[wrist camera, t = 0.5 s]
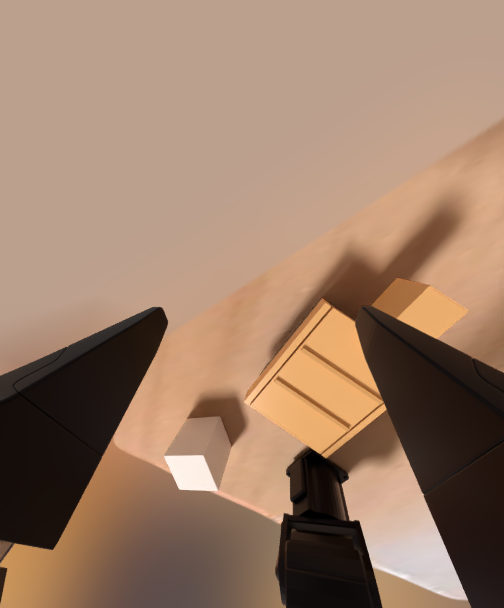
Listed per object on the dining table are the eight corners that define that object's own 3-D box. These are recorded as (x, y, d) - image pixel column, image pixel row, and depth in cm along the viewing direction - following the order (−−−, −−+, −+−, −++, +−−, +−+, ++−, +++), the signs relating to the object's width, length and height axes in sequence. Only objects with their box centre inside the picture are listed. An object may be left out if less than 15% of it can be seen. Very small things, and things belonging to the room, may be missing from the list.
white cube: (231, 446, 30) (218, 491, 24) (199, 447, 32) (179, 489, 26) (220, 415, 29) (203, 455, 23) (187, 417, 30) (163, 456, 25)
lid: (465, 322, 16) (519, 344, 12) (323, 443, 22) (330, 482, 18) (358, 252, 16) (379, 252, 12) (247, 391, 22) (238, 419, 18)
